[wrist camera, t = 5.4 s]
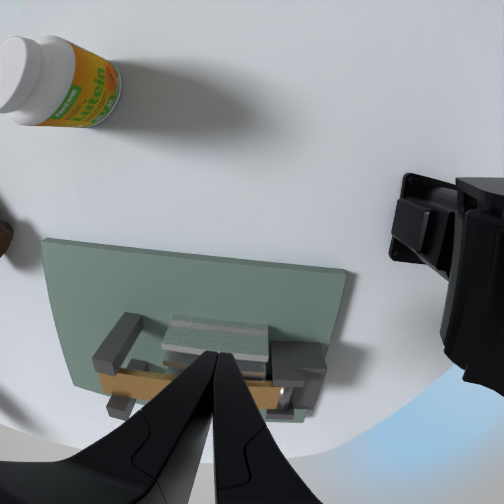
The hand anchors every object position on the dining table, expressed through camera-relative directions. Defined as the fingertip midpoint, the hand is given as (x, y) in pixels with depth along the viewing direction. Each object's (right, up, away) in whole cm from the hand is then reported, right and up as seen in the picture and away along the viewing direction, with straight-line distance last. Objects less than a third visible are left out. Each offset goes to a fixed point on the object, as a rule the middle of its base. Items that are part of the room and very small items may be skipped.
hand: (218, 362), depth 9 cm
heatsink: (-2, -5, +14) cm, 15 cm away
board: (-5, -4, +15) cm, 16 cm away
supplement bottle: (-11, +15, +8) cm, 20 cm away
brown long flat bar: (-3, -6, +10) cm, 12 cm away
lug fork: (-8, -4, +14) cm, 17 cm away
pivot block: (+3, -5, +14) cm, 15 cm away
